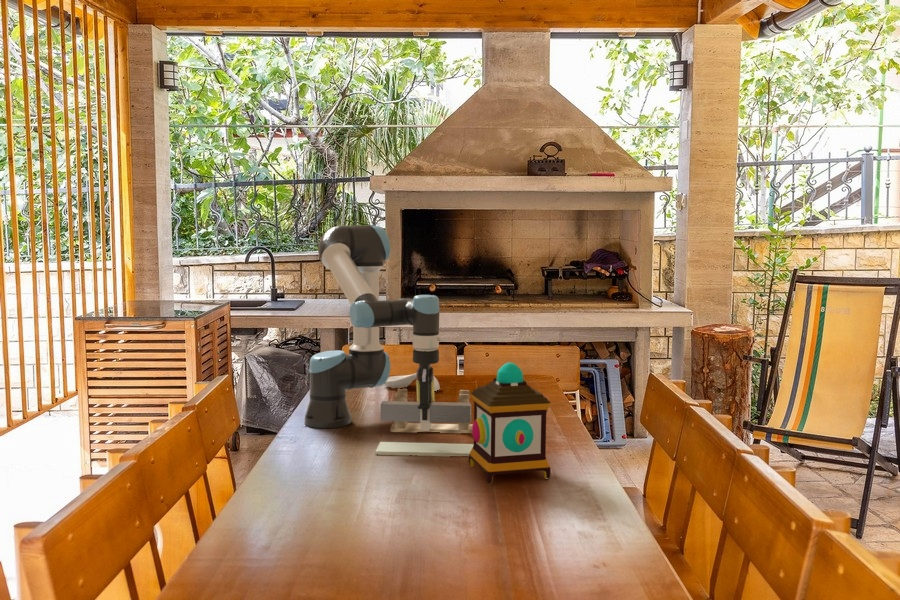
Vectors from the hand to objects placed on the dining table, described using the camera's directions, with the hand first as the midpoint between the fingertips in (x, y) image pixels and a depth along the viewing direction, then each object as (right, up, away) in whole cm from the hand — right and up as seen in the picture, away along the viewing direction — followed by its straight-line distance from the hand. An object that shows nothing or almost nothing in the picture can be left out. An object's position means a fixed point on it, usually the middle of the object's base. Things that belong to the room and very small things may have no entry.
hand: (425, 428), depth 246 cm
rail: (0, +2, 0) cm, 2 cm away
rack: (+1, -4, +25) cm, 25 cm away
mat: (0, -7, +1) cm, 7 cm away
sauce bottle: (-2, -1, +55) cm, 55 cm away
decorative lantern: (+23, -9, -20) cm, 31 cm away
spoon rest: (-8, +2, +88) cm, 89 cm away
